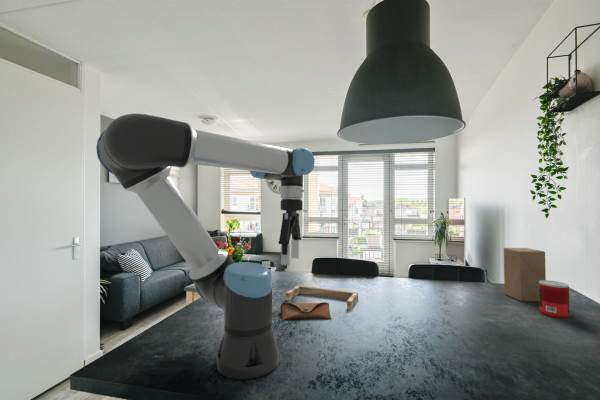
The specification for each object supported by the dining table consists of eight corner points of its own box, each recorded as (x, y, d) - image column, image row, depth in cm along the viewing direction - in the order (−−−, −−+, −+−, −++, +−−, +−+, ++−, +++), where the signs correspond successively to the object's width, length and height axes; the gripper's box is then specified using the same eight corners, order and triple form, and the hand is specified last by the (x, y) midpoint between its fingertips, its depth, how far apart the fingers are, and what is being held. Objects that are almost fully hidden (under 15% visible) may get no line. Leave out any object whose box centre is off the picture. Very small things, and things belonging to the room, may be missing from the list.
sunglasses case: (280, 320, 95) (280, 300, 99) (280, 324, 101) (280, 304, 105) (333, 319, 97) (331, 299, 100) (330, 322, 103) (328, 303, 106)
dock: (350, 309, 105) (350, 301, 106) (285, 300, 117) (285, 292, 117) (358, 300, 116) (358, 292, 116) (297, 292, 127) (297, 285, 128)
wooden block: (546, 301, 113) (545, 251, 114) (521, 301, 114) (520, 251, 114) (527, 294, 123) (526, 247, 124) (503, 294, 124) (502, 247, 124)
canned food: (575, 319, 96) (574, 286, 96) (548, 317, 97) (547, 285, 98) (559, 311, 103) (559, 280, 104) (534, 309, 105) (534, 279, 105)
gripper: (293, 197, 85) (292, 268, 84) (308, 200, 110) (307, 256, 109) (269, 197, 87) (268, 267, 86) (289, 200, 111) (288, 255, 110)
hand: (290, 261), depth 97 cm, fingers open, 13 cm apart
